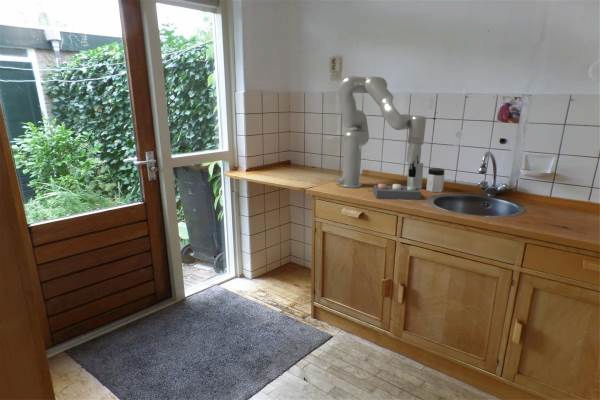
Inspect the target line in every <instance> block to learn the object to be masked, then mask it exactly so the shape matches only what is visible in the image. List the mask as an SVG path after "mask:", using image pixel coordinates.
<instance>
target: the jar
mask: <svg viewBox="0 0 600 400" xmlns="http://www.w3.org/2000/svg"><path fill="white" fill-rule="evenodd" d="M444 183H445V169H443V168H437V167H431V168H429V169H428V173H427V179H426V188H425V189H426V191H428V192H431V193H442V192H443V191H444Z"/></svg>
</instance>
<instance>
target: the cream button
mask: <svg viewBox="0 0 600 400" xmlns="http://www.w3.org/2000/svg"><path fill="white" fill-rule="evenodd" d="M392 186H393V187H392V190H401V186H402V184H400V183H393V184H392Z"/></svg>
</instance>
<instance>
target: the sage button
mask: <svg viewBox="0 0 600 400" xmlns="http://www.w3.org/2000/svg"><path fill="white" fill-rule="evenodd" d="M406 186H407V185H406ZM407 190H416V187H415V186H407Z"/></svg>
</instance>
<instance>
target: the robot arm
mask: <svg viewBox="0 0 600 400" xmlns="http://www.w3.org/2000/svg"><path fill="white" fill-rule="evenodd" d="M337 92H338V100H339V103H340V105H339V106H340V111H341V112H340V113H341V119H342V124H343V126H344V127H346V128H348V129H351V128H352V129H351V130H347V131H346V132H345V133H344V134H343V136H342V146H343V163H342V176H341V177H339V178H338V177H337V178H336V177H335V178H334V182H337V183H339V186H340V187H342V188H350V189H357V188H361V187H362V183H361V182H360V174H361V173H360V172H361V149H360V147H363V146H365V145H367V143H368V142H369V139H370V133H369V126H368V119H367V115H366V113H365V112H364V111H362V110H359V109H357V102H356V99H355V96H354V93H355V94H356V93H357V94H368V95H369V96H370V97H371V98H372V99H373V100H374V101H375V103H376V104H377V106H379V109H380V112H381V114H382V115H381V116H382V117H383V118H384V120H385V121H386V122H387V123H388V125H389V126H390V127H391V128H392V129H394V130H395V131H402V130H408V138H407V144H408V146H407V152H406V159H405V161H406V162H407V164H408V163H409V164H410V165H409V175H408V174H407V175H408V176H409V177H415V175H416V167H417V164H419V163H420V162H421V156H422V155H421V154H422V145H424V140H425V134H426V133H425V132H426V124H427V117H426V116H424V115H412V114H411V115H410V114H400V112H399V111H398V110H397V109H396V108H395V105H394V103H393V100H394V95H393V94H392V92H390V90H389V89H388V82H387V80H386V79H385V78H384V77H382V76H381V77H380V76H369V77H367V76H366V77H365V76H354V75H350V76H347V77H345V78H344V79H342V81H340V83H339V85H338V90H337Z"/></svg>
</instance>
